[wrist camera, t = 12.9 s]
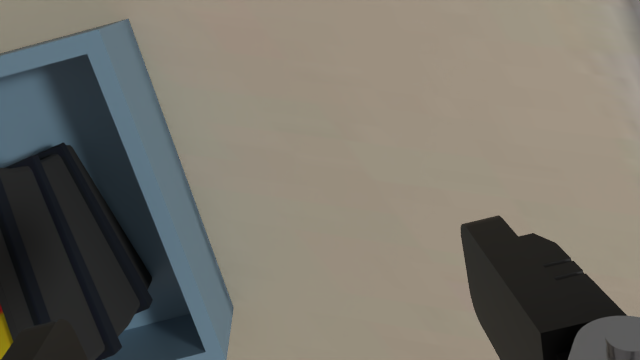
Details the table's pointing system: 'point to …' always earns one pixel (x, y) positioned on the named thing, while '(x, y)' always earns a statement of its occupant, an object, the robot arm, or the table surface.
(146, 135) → the bin
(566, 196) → the table surface
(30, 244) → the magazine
